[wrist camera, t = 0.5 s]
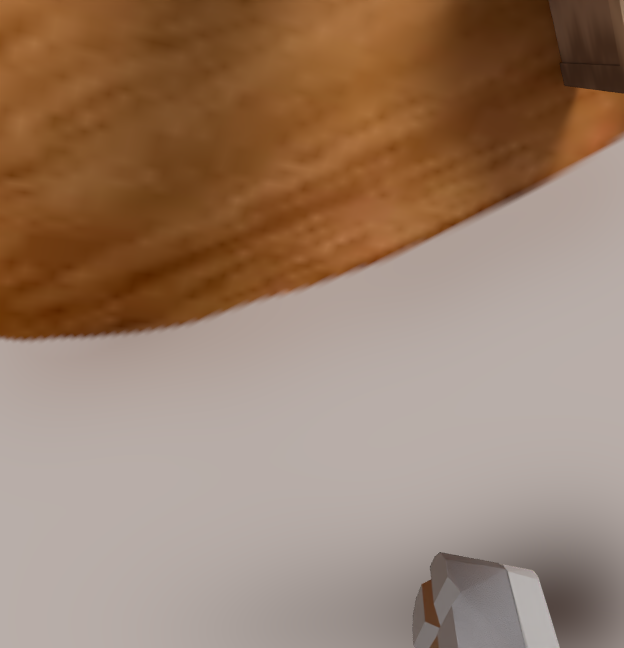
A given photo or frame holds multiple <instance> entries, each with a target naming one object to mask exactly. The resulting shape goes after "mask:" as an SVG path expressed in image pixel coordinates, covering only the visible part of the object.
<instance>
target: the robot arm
mask: <svg viewBox="0 0 624 648" xmlns="http://www.w3.org/2000/svg"><path fill="white" fill-rule="evenodd" d="M430 571H431V580H429V581H427V582H425V583H423V584H422V585H421V587H420V590H419V592H418V595H417V597H416V601H415V607H414V612H413V644H414V647H415V648H560V647H559V643H558V640H557V637H556V634H555V630H554V627H553V624H552V621H551V617H550V614H549V611H548V608H547V604H546V601H545V598H544V594H543V591H542V588H541V584H540V581H539V578H538V576H537V575H536V574H535V572H534V571H533V570H528V569H524V568H518V567H513V566H508V565H503V564H499V563H495V562H490V561H485V560H479V559H474V558H469V557H463V556H458V555H452V554H447V553H441V552H440V553H438V554H437V555H436V556H435V557H434V559H433V562H432V563H431V566H430Z"/></svg>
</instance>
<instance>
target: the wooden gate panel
mask: <svg viewBox="0 0 624 648" xmlns="http://www.w3.org/2000/svg"><path fill="white" fill-rule="evenodd" d="M549 5H550V9H551V14H552V19H553V23H554V28H555V32H556V37H557V41H558V46H559V50H560V55H561V60H562V63H560V67H561V72H562V76H563V81H564V85H565V86H570V87H578V88H586V89H593V90H601V91H608V92H616V93H624V0H549Z"/></svg>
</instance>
